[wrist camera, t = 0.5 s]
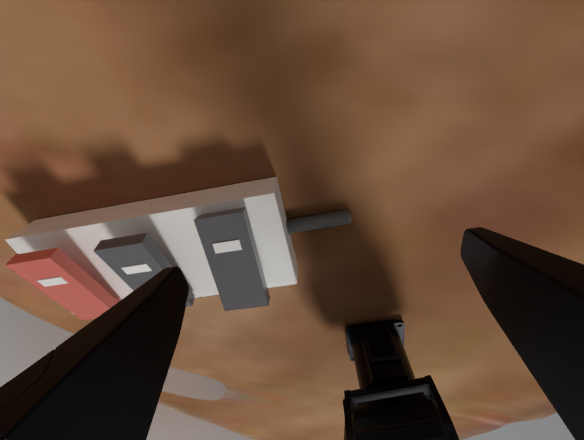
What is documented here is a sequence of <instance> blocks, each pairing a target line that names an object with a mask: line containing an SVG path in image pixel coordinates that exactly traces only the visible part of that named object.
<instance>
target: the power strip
mask: <svg viewBox="0 0 584 440" xmlns="http://www.w3.org/2000/svg"><path fill="white" fill-rule="evenodd" d="M243 207H246V209H247V213H248V217H249V220H250V224H251V228H252V232H253V236H254V239H255V243H256V247H257V251H258V254H259V258H260V262H261V266H262V270H263V273H264V277H265V281H266V285H267V288H270V287H278V286H285V285H293V284H297V260H296V256H295V252H294V247H293V243H292V239H291V235H290V233H296V232H303V231H309V230H315V229H322V228H328V227H335V226H341V225H347V224H349V223H350V222H351V221H352V214H351V213H350V212H349V211H339V212H333V213H327V214H321V215H315V216H308V217H302V218H296V219H290V220H287V218H286V214H285V210H284V205H283V201H282V197H281V193H280V189H279V184H278V180H277V177H272V178H266V179H261V180H255V181H250V182H244V183H238V184H233V185H227V186H222V187H216V188H211V189H205V190H199V191H194V192H188V193H183V194H177V195H172V196H166V197H160V198H155V199H149V200H144V201H138V202H132V203H127V204H121V205H116V206H110V207H105V208H99V209H93V210H88V211H82V212H77V213H71V214H66V215H60V216H54V217H49V218H43V219H38V220H34V221H33V222H31V223H30V224H28V225H27V226H25V227H24V228H22V229H21V230H19V231H17V232H16V233H14V234H13V235H11V236H10V237H8V238H7V239H5V240H6V242H7V243H8V244H9V245H10V246H11V247H12V248H13V249H14V250H15V251H16V252H17V254H22V253H28V252H34V251H40V250H46V249H52V248H60V249H61V250H62V251H63V252H64V253H65V254H66V255H67V256H69V257H70V258H71V259H72V260H73V261H74V262H75V263H76V264H78V265H79V266H80V267H81V268H82V269H83V270H84V271H85V272H87V273H88V274H89V275H90V276H91V277H92V278H93V279H94V280H96V281H97V282H98V283H99V284H100V285H101V286H102V287H103V288H105V289H106V290H107V291H108V292H109V293H110V294H111V295H112V296H114V297H115V298H116V299H117V300H118V301H121V300H122V299H123V298H125V297H126V296H127V295H129V294H130V293H131V292H133V290H132V289H131V288H130V287H129V286H128V285H127V284H126V283H125V282H124V281H123V280H122V279H121V278H120V277H119V276H118V275H117V274H116V273H115V272H114V271H113V270H112V269H111V268H110V267H109V266H108V265H107V264H106V263H105V262H104V261H103V260H102V259H101V258H100V257H99V256H98V255H97V254H96V253H95V252H94V249H95V248H96V246H97V245H98V244H99V242H100V241H101V240H107V239H113V238H119V237H125V236H131V235H137V234H143V233H148V235H149V236H150V237H151V239H152V240H153V241H154V243H155V244H156V245H157V246H158V248H159V249H160V250H161V252H162V253H163V254H164V256H165V257H166V258H167V260H168V261H169V262H170V263H171V265H172V266H178V267H180V269H181V270H182V272H183V274H184V276H185V278H186V280H187V282H188V285H189V288H190V290H191V291H192V292H193V294H194V295H195V297H194V298H196V297H204V296H211V295H219V293H218V290H217V287H216V284H215V281H214V278H213V275H212V272H211V269H210V266H209V264H208V261H207V258H206V255H205V252H204V249H203V246H202V243H201V240H200V237H199V234H198V232H197V229H196V226H195V223H194V219H195V218H196V217H197V216H198V215H202V214H208V213H214V212H219V211H225V210H231V209H237V208H243ZM71 313H72V312H71ZM72 314H73V313H72Z"/></svg>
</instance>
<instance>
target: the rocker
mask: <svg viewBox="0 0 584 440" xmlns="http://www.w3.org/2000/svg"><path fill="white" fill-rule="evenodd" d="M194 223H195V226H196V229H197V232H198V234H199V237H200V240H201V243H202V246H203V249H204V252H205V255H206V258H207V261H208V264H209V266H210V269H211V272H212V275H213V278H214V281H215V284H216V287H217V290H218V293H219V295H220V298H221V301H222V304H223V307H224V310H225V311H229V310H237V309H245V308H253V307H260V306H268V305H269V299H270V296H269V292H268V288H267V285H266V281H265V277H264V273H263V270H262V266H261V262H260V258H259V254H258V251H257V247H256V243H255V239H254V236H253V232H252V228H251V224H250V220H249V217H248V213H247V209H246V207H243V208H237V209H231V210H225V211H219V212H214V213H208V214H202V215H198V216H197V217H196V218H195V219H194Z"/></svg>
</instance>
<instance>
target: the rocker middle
mask: <svg viewBox="0 0 584 440" xmlns="http://www.w3.org/2000/svg"><path fill="white" fill-rule="evenodd" d="M94 252H95V253H96V254H97V255H98V256H99V257H100V258H101V259H102V260H103V261H104V262H105V263H106V264H107V265H108V266H109V267H110V268H111V269H112V270H113V271H114V272H115V273H116V274H117V275H118V276H119V277H120V278H121V279H122V280H123V281H124V282H125V283H126V284H127V285H128V286H129V287H130V288H131V289H132V290H133V291H134V290H136V289H137V288H138V287H140V286H141V285H142V284H144V283H145V282H147V281H148V280H149V279H151V278H152V277H153V276H155V275H156V274H157V273H159V272H160V271H162V270H163V269H164V268H166V267H173V266H172V265H171V263H170V262H169V261H168V260H167V258H166V257H165V256H164V254H163V253H162V252H161V250H160V249H159V248H158V246H157V245H156V244H155V243H154V241H153V240H152V239H151V237H150V236H149V235H148V233H143V234H137V235H131V236H125V237H119V238H113V239H107V240H101V241H100V242H99V244H98V245H97V246H96V248H95V249H94ZM194 297H195V295H194V294H193V292H192V291H191V290H190V288H189V293H188V298H187V303H186V306H192V305H193V301H194Z"/></svg>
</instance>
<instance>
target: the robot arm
mask: <svg viewBox="0 0 584 440" xmlns="http://www.w3.org/2000/svg"><path fill="white" fill-rule="evenodd" d="M461 257H462V260H463V262H464V264H465V266H466V267H467V269H468V271H469V273H470V275H471V277H472V279H473V281H474V283H475V285H476V287H477V289H478V291H479V293H480V295H481V297H482V298H483V300H484V302H485V304H486V305H487V307H488V308H489V310H490V312H491V313H492V315H493V316H494V318H495V319H496V321H497V322H498V324H499V325H500V327H501V328H502V330H503V331H504V333H505V334H506V336H507V337H508V339H509V340H510V342H511V343H512V345H513V346H514V348H515V349H516V351H517V352H518V354H519V355H520V357H521V358H522V360H523V361H524V363H525V364H526V366H527V367H528V369H529V370H530V372H531V373H532V375H533V377H534V378H535V380H536V381H537V383H538V384H539V386H540V387H541V389H542V390H543V392H544V393H545V395H546V396H547V398H548V399H549V401H550V402H551V404H552V405H553V407H554V408H555V410H556V411H557V413H558V414H559V416H560V417H561V419H562V420H563V422H564V423H565V425H566V426H567V428H568V429H569V431H570V432H571V434H572V435H573V437H574V438H575V440H584V265H583V264H580V263H578V262H575V261H572V260H569V259H567V258H564V257H561V256H559V255H556V254H553V253H550V252H548V251H545V250H542V249H540V248H537V247H534V246H531V245H529V244H526V243H523V242H520V241H518V240H515V239H512V238H510V237H507V236H504V235H501V234H499V233H496V232H493V231H491V230H488V229H485V228H482V227H477V228H469V229H466V230H465V232H464V235H463V240H462V246H461ZM188 293H189V285H188V282H187V280H186V278H185V276H184V274H183V272H182V270H181V269H180V267H178V266H173V267H166V268H164V269H163V270H162V271H160V272H159V273H157V274H156V275H155V276H153V277H152V278H151V279H149V280H148V281H147V282H145V283H144V284H142V285H141V286H140V287H138V288H137V289H136V290H134V291H133V292H131V293H130V294H129V295H127V296H126V297H125V298H123V299H122V300H121V301H119V302H118V303H116V304H115V305H114V306H112V307H111V308H110V309H108V310H107V311H105V312H104V313H103V314H101V315H100V316H99V317H97V318H96V319H95V320H93V321H92V322H90V323H89V324H88V325H86V326H85V327H84V328H82V329H81V330H79V331H78V332H77V333H75V334H74V335H73V336H71V337H70V338H69V339H67V340H66V341H64V342H63V343H62V344H61V345H59V346H58V347H57V348H56V349H55V350H52V351H51V352H49V353H48V354H47V355H45V356H44V357H42V358H41V359H40V360H38V361H37V362H36V363H34V364H33V365H31V366H30V367H29V368H27V369H26V370H24V371H23V372H22V373H20V374H19V375H17V376H16V377H15V378H13V379H12V380H10V381H9V382H7V383H6V384H4V385H3V386H1V387H0V440H146V438H147V435H148V432H149V429H150V425H151V422H152V419H153V416H154V413H155V410H156V407H157V404H158V401H159V397H160V394H161V391H162V388H163V385H164V382H165V379H166V376H167V373H168V369H169V366H170V363H171V360H172V357H173V354H174V351H175V348H176V345H177V341H178V338H179V335H180V331H181V327H182V322H183V317H184V312H185V307H186V303H187V298H188ZM404 327H405V325H404V322H403V320H392V321H383V322H374V323H366V324H357V325H349V326H347V327H346V335H347V342H348V349H349V356H350V360H351V361H355V366H356V371H357V376H358V381H359V386H360V389H357V390H352V391H350V390H346V391H344V394H345V399H344V400H343V407H344V414H345V431H344V440H459V438H458V435H457V433H456V430H455V428H454V425H453V423H452V421H451V418H450V416H449V414H448V412H447V409H446V407H445V405H444V403H443V401H442V399H441V397H440V395H439V392H438V390H437V388H436V386H435V384H434V382H433V380H432V378H431V376H430V375H428V376H425V377H423V378H417V379H415V376H414V374H413V371H412V368H411V366H410V363H409V360H408V358H407V355H406V352H405V349H404Z"/></svg>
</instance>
